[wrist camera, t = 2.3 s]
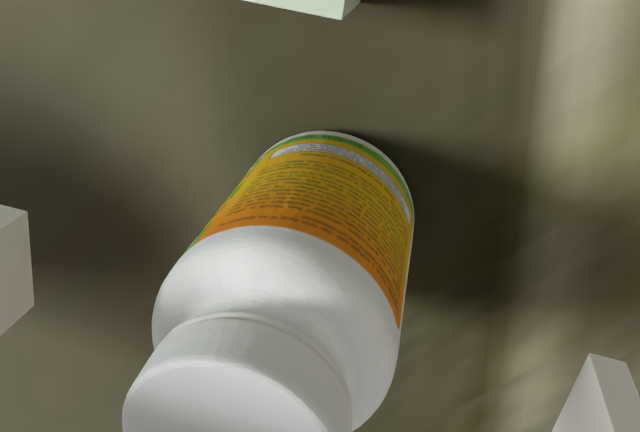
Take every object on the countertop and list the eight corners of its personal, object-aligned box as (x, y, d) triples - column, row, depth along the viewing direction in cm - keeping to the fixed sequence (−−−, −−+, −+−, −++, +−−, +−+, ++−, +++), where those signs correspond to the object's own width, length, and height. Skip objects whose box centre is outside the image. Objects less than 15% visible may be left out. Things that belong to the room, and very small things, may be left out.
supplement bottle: (246, 116, 18) (58, 297, 9) (427, 137, 17) (401, 355, 9) (246, 268, 20) (98, 521, 12) (404, 293, 20) (367, 583, 11)
